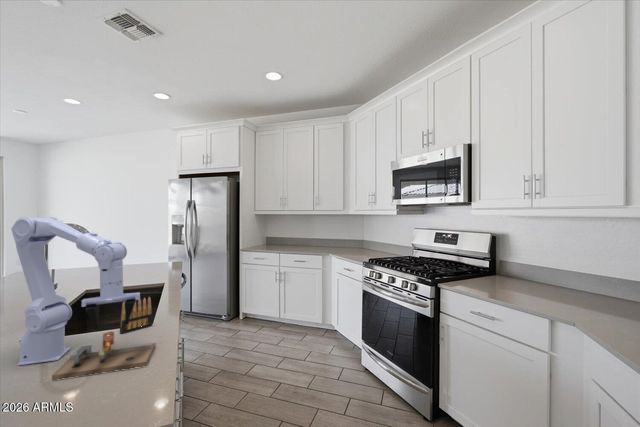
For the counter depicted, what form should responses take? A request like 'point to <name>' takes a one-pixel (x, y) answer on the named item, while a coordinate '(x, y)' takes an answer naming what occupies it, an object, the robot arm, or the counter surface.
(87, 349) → the fixed leg
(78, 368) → the hole plate
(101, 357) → the sliding leg
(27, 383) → the counter surface
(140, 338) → the counter surface
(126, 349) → the steel beam
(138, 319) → the ammunition clip
